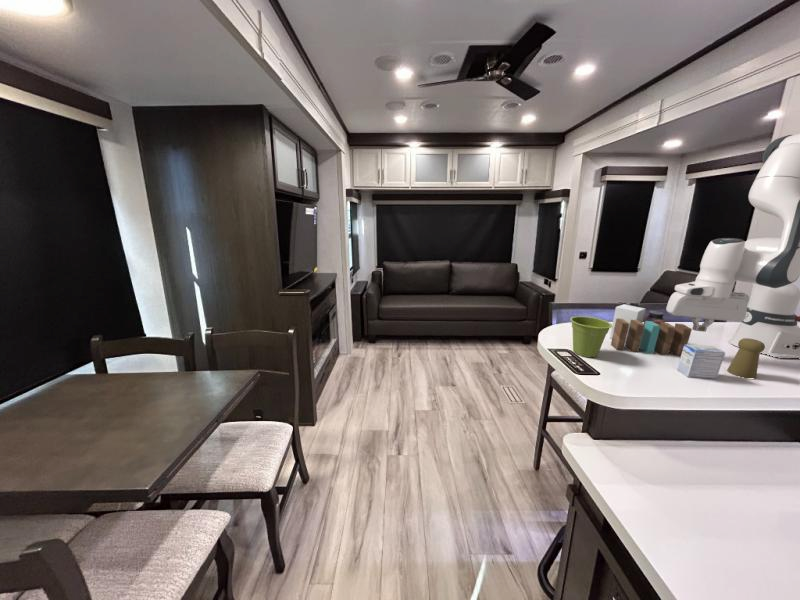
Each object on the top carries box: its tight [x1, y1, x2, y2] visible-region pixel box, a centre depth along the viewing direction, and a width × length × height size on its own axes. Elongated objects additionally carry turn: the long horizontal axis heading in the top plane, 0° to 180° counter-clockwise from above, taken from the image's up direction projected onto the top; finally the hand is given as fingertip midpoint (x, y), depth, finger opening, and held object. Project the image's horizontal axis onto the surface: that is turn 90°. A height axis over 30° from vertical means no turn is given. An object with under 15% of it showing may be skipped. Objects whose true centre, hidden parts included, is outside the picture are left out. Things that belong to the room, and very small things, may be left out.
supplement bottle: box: [643, 310, 666, 326], centre depth 117 cm, size 6×6×11 cm
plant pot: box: [569, 315, 613, 358], centre depth 104 cm, size 12×12×11 cm
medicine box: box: [676, 344, 726, 379], centre depth 92 cm, size 8×4×9 cm, turn 84°
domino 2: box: [624, 320, 645, 353], centre depth 109 cm, size 2×5×10 cm, turn 167°
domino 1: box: [610, 318, 630, 352], centre depth 110 cm, size 2×5×10 cm, turn 167°
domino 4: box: [654, 321, 676, 356], centre depth 107 cm, size 2×5×10 cm, turn 168°
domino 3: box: [639, 321, 660, 355], centre depth 108 cm, size 2×5×10 cm, turn 167°
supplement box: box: [609, 303, 647, 343], centre depth 117 cm, size 7×7×13 cm
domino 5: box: [669, 323, 693, 358], centre depth 106 cm, size 2×5×10 cm, turn 168°
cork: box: [726, 338, 765, 379], centre depth 93 cm, size 6×6×11 cm
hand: (698, 330), depth 104 cm, fingers closed
